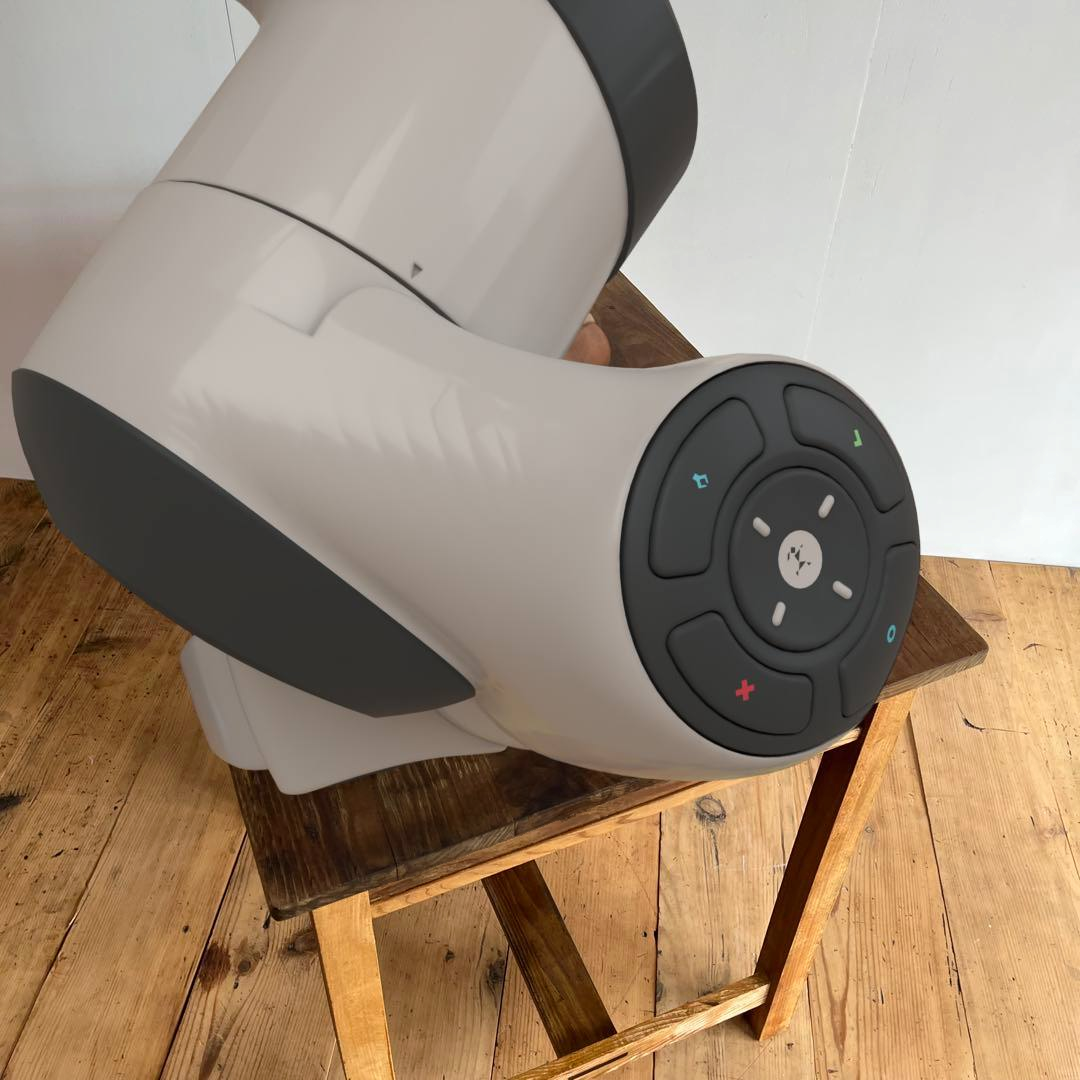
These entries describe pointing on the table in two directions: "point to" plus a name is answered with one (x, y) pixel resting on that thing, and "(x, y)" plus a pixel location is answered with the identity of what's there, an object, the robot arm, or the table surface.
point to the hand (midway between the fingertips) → (418, 615)
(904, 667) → the table surface
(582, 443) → the robot arm
